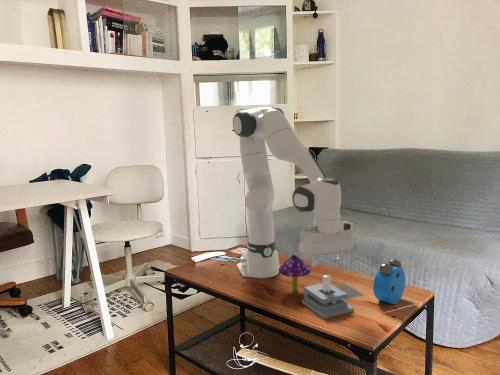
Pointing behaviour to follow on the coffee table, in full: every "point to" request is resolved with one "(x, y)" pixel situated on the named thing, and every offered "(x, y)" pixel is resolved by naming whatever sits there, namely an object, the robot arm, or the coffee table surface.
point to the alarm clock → (389, 282)
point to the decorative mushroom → (294, 269)
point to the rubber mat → (349, 291)
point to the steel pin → (326, 284)
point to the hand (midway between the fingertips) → (326, 264)
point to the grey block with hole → (326, 301)
